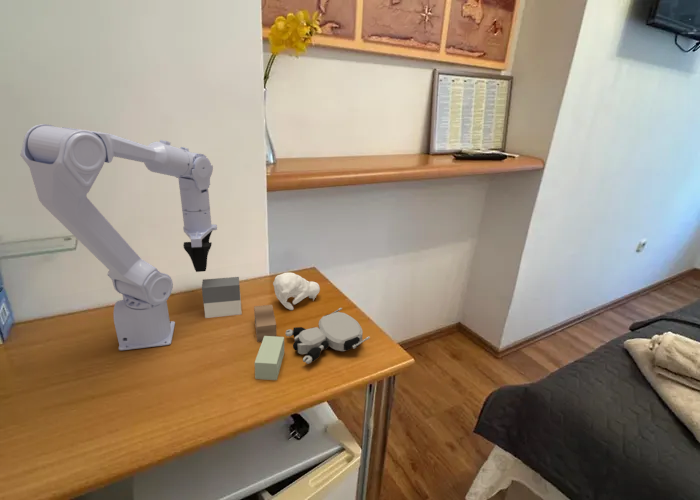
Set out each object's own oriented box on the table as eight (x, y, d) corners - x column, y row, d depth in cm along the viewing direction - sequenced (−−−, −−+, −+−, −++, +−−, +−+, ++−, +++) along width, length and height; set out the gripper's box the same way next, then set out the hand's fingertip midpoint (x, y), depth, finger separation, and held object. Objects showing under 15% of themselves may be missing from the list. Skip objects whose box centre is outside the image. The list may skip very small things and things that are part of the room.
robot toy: (306, 377, 74) (372, 351, 81) (304, 358, 72) (372, 333, 79) (283, 341, 84) (343, 320, 90) (281, 324, 82) (343, 304, 88)
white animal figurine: (271, 269, 93) (315, 264, 100) (269, 301, 96) (311, 293, 103) (282, 281, 88) (327, 274, 95) (279, 313, 91) (323, 305, 98)
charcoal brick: (203, 303, 87) (201, 288, 85) (204, 294, 90) (202, 279, 88) (240, 300, 89) (239, 284, 87) (239, 291, 92) (238, 276, 91)
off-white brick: (205, 318, 88) (203, 303, 87) (206, 309, 92) (204, 294, 90) (241, 314, 90) (240, 300, 89) (241, 305, 94) (240, 291, 92)
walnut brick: (276, 340, 83) (276, 324, 81) (257, 342, 82) (256, 326, 80) (272, 319, 90) (272, 304, 88) (254, 321, 89) (254, 306, 87)
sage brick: (276, 380, 72) (276, 363, 70) (255, 379, 72) (254, 362, 70) (284, 353, 79) (284, 337, 77) (264, 351, 79) (264, 335, 77)
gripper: (214, 218, 79) (219, 276, 85) (216, 197, 92) (220, 249, 98) (177, 219, 77) (184, 279, 83) (184, 198, 90) (190, 251, 96)
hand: (201, 263), depth 90 cm, fingers open, 7 cm apart
